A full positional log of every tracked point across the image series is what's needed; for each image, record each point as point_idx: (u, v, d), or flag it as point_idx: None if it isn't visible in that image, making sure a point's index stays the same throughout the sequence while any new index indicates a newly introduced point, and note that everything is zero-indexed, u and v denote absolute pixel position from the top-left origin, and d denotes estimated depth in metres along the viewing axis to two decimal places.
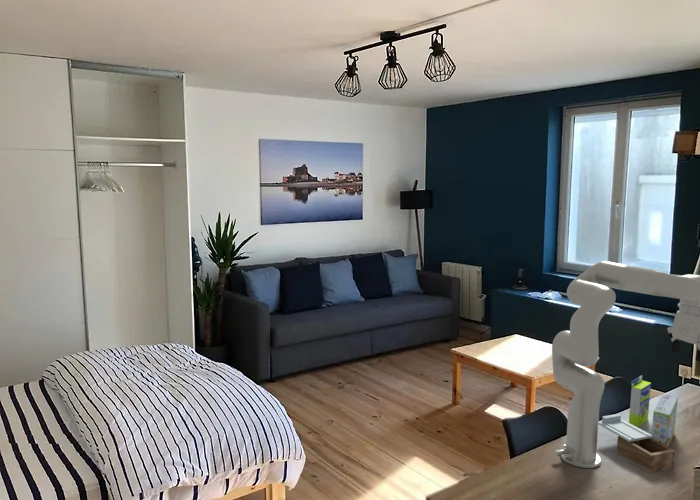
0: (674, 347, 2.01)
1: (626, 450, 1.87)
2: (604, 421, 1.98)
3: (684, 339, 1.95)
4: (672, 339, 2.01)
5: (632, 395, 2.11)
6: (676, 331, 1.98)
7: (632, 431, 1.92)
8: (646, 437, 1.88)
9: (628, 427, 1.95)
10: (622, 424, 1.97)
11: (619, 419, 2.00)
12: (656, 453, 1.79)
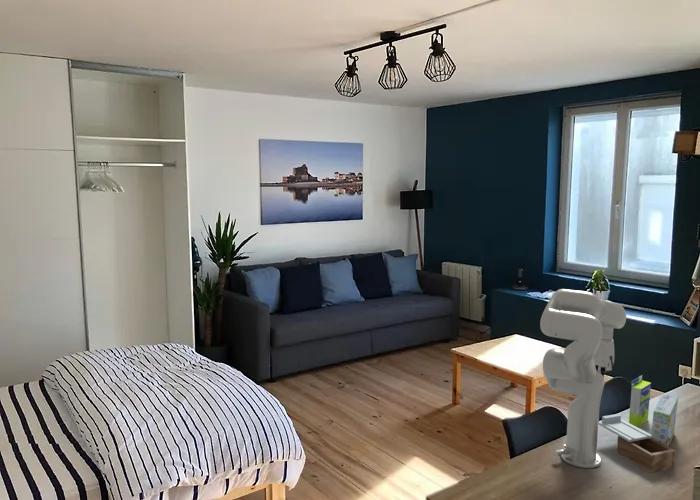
0: None
1: (626, 450, 1.87)
2: (604, 421, 1.98)
3: (594, 362, 2.03)
4: None
5: (632, 395, 2.11)
6: None
7: (632, 431, 1.92)
8: (646, 437, 1.88)
9: (628, 427, 1.95)
10: (622, 424, 1.97)
11: (619, 419, 2.00)
12: (656, 453, 1.79)
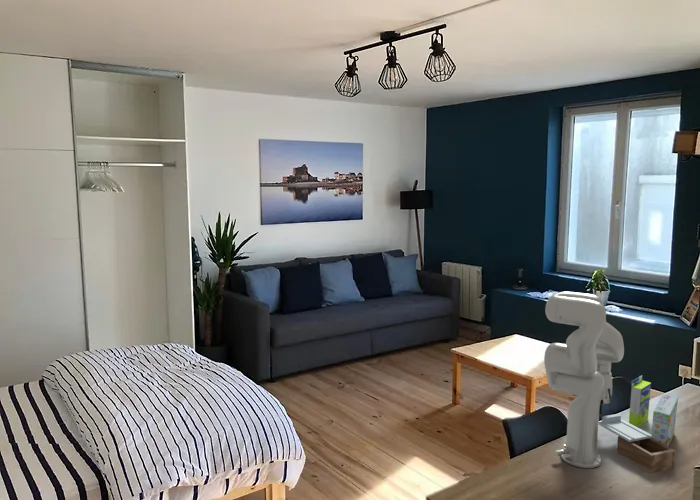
0: None
1: (626, 450, 1.87)
2: (604, 421, 1.98)
3: None
4: None
5: (632, 395, 2.11)
6: None
7: (632, 431, 1.92)
8: (646, 437, 1.88)
9: (628, 427, 1.95)
10: (622, 424, 1.97)
11: (619, 419, 2.00)
12: (656, 453, 1.79)
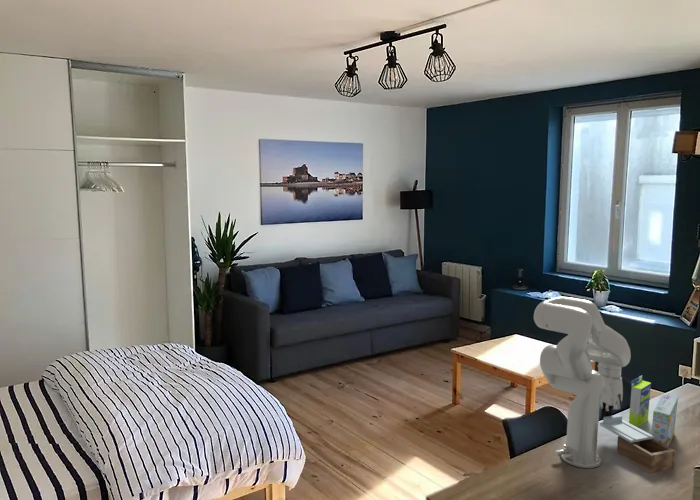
0: (603, 414, 2.01)
1: (626, 450, 1.87)
2: (605, 422, 1.97)
3: (602, 400, 1.99)
4: (601, 406, 2.02)
5: (632, 395, 2.11)
6: None
7: (633, 432, 1.91)
8: (647, 438, 1.87)
9: (629, 428, 1.94)
10: (623, 425, 1.96)
11: (620, 420, 1.99)
12: (656, 453, 1.79)
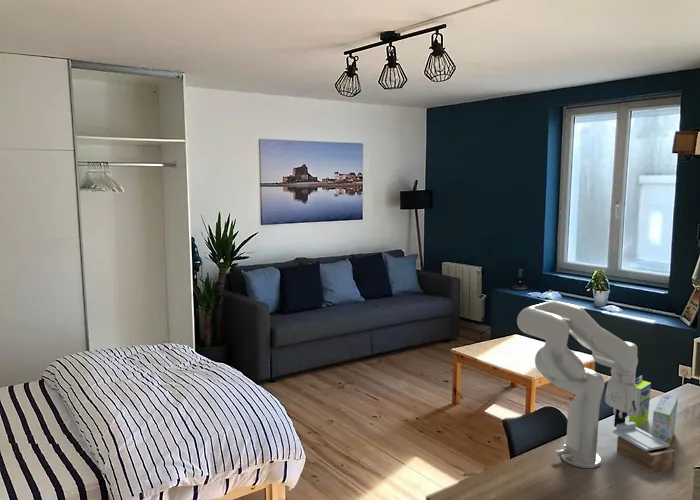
0: (616, 421, 1.95)
1: (626, 450, 1.87)
2: (619, 429, 1.92)
3: (615, 407, 1.93)
4: (614, 413, 1.96)
5: None
6: (608, 398, 1.96)
7: (648, 440, 1.85)
8: (663, 446, 1.82)
9: (644, 435, 1.88)
10: (637, 432, 1.91)
11: (634, 427, 1.93)
12: (656, 453, 1.79)
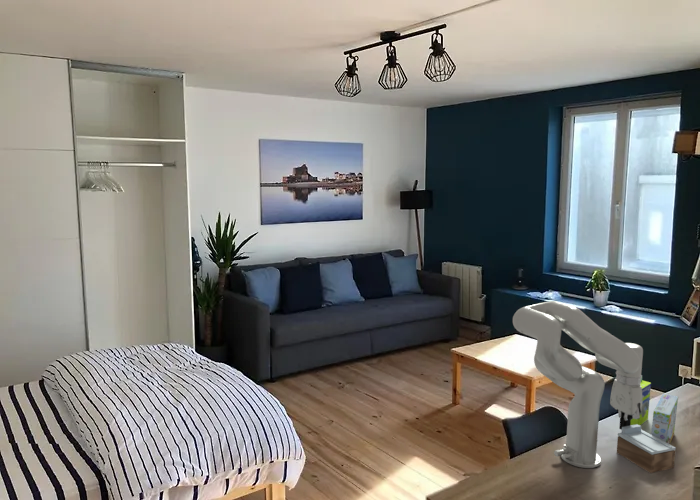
0: None
1: (626, 450, 1.87)
2: (624, 432, 1.90)
3: (621, 409, 1.91)
4: (620, 415, 1.94)
5: None
6: (613, 400, 1.94)
7: (653, 443, 1.83)
8: (669, 449, 1.80)
9: (649, 438, 1.86)
10: (643, 435, 1.89)
11: (639, 430, 1.91)
12: None
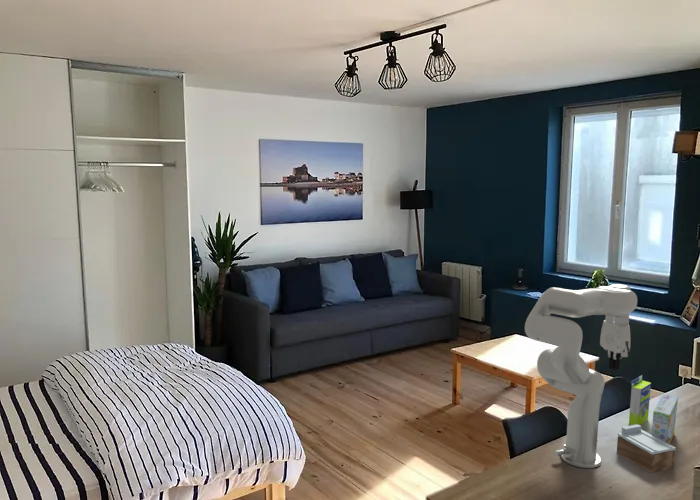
0: None
1: (626, 450, 1.87)
2: (624, 432, 1.90)
3: (609, 348, 1.96)
4: (609, 355, 1.99)
5: (632, 395, 2.11)
6: (603, 340, 1.99)
7: (653, 443, 1.83)
8: (669, 449, 1.80)
9: (649, 438, 1.86)
10: (643, 435, 1.89)
11: (639, 430, 1.91)
12: None
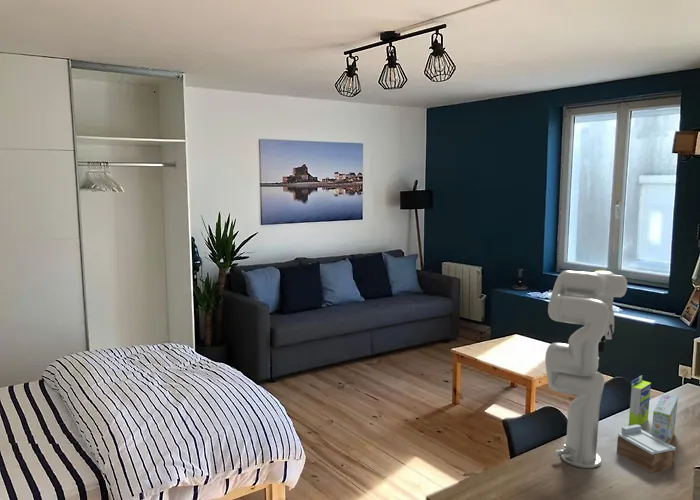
0: None
1: (626, 450, 1.87)
2: (624, 432, 1.90)
3: None
4: None
5: (632, 395, 2.11)
6: None
7: (653, 443, 1.83)
8: (669, 449, 1.80)
9: (649, 438, 1.86)
10: (643, 435, 1.89)
11: (639, 430, 1.91)
12: None
